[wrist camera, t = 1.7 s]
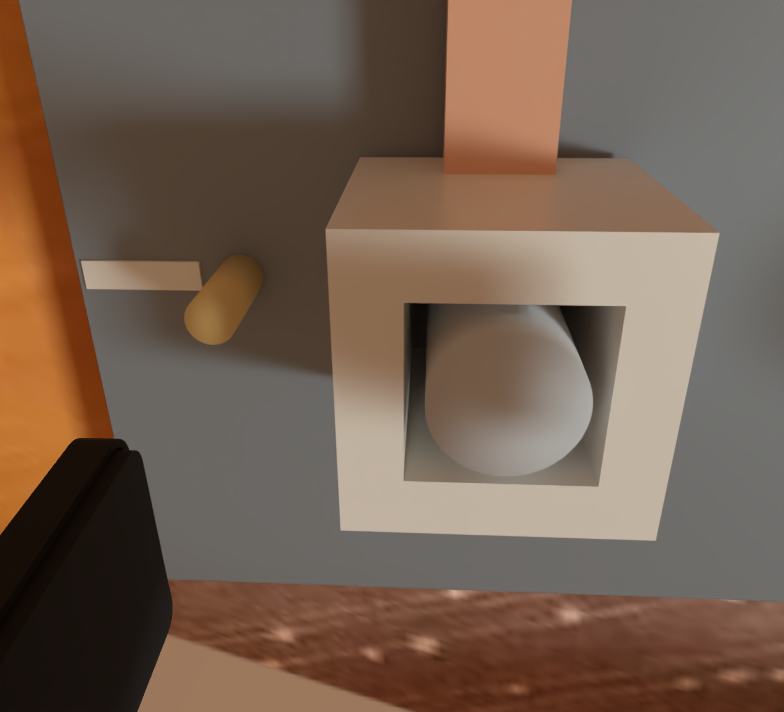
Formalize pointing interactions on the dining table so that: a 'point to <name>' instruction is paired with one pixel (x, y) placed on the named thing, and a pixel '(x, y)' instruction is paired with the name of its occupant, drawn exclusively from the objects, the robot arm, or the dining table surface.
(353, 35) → the board
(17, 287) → the dining table surface
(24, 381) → the dining table surface
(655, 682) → the dining table surface
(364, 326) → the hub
